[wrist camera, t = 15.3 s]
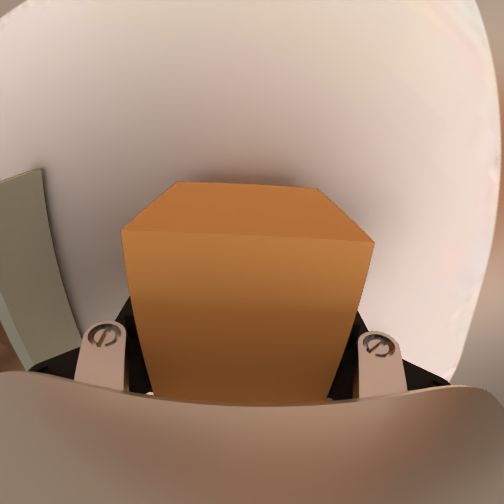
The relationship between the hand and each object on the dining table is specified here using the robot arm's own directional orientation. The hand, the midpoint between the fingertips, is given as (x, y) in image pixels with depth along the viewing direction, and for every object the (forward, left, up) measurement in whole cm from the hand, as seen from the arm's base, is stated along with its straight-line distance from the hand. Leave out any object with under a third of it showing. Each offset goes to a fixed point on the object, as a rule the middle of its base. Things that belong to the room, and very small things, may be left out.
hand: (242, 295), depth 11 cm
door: (-12, -2, -3) cm, 12 cm away
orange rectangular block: (0, 0, -1) cm, 1 cm away
